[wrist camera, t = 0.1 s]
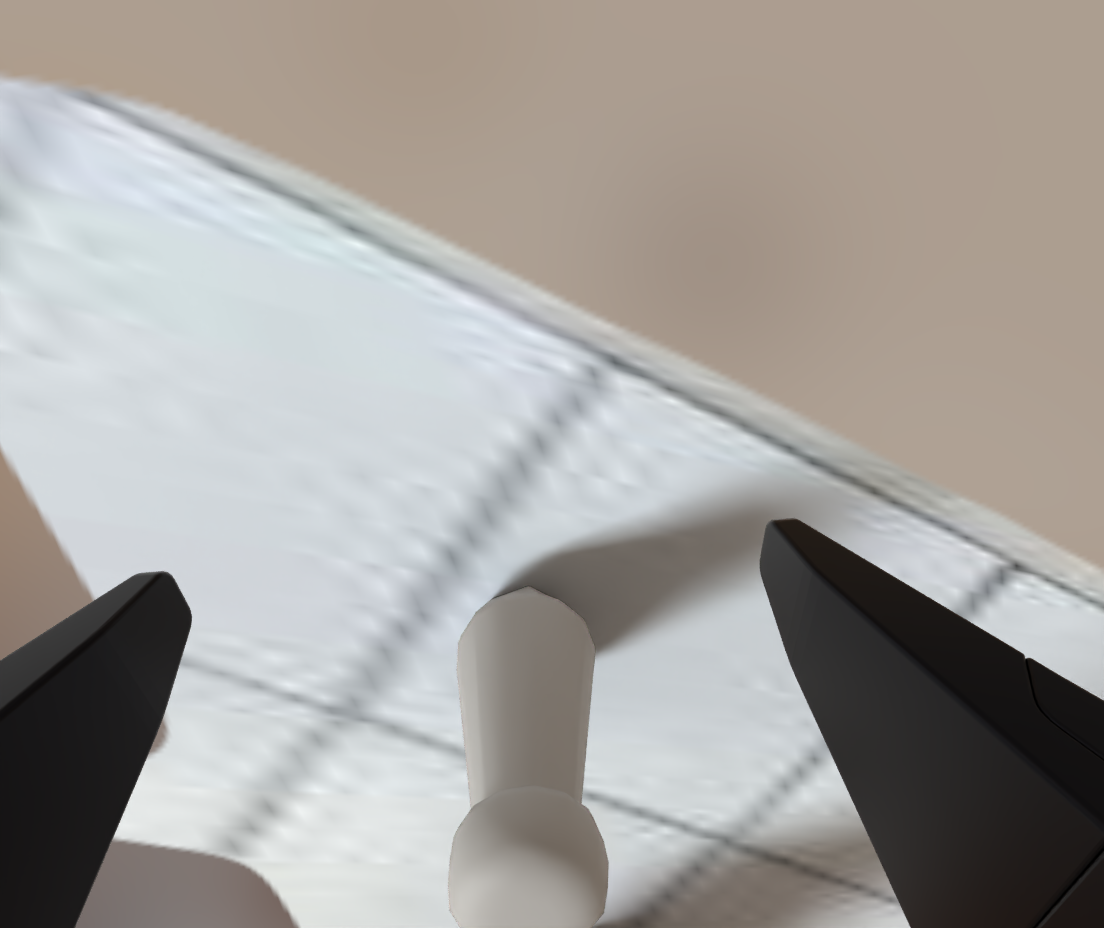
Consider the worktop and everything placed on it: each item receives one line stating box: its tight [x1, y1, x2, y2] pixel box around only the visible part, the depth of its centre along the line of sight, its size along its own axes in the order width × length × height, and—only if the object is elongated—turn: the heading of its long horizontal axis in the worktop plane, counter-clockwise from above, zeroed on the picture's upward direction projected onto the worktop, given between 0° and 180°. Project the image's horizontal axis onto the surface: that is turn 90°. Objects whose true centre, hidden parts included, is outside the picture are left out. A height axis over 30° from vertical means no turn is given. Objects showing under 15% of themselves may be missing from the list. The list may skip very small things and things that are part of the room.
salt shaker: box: [448, 586, 609, 928], centre depth 21 cm, size 6×6×13 cm
